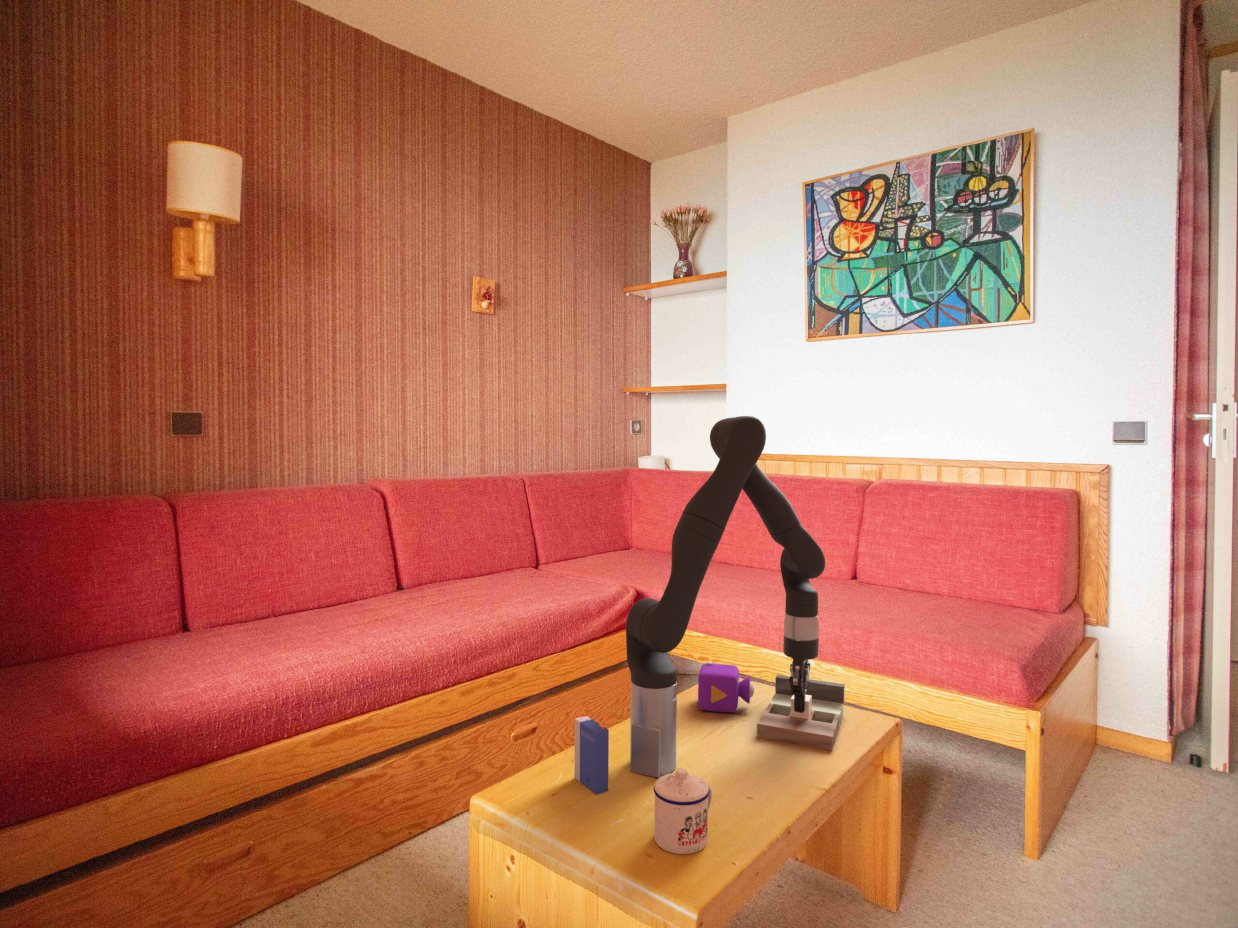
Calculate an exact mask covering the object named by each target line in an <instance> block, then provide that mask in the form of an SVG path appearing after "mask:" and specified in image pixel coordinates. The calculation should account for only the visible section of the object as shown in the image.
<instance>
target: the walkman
mask: <svg viewBox="0 0 1238 928" xmlns="http://www.w3.org/2000/svg"><path fill="white" fill-rule="evenodd" d="M574 721H575V722H574V779H575V780H577V781H578V782H579V783H581V784H582V785H583V786H584V787H586V788H587V789H588V790H589V791H591V792H592V793H594V795H600V794H602V793H605V792H607V791H608V792H609V753H610V752H609V748H610V747H609V745H610V743H609V740H610V736H609V735H610V733H609V731H610V729H608V728H607V727H606V725H604V724H602V723H599V722H598V721H596V720H594V719H592V718H591V717H589V716H588V715H585V716H581V717H575V718H574Z"/></svg>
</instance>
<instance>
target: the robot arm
mask: <svg viewBox="0 0 1238 928" xmlns="http://www.w3.org/2000/svg"><path fill="white" fill-rule="evenodd" d="M766 431H767V430H766V428H765V426H764V423H763V422H762V421H761V420H760V419H759V418H758V417H755V416H751V415H742V416H741V415H739V416H735V417H734V416H733V417H728V418H723V419H720V420H718V421H717V422H715V424H713V426H712V427H711V430H710V433H709V442H710V446H711V449H712V450H713V452H714V453H715V455H716V456H717V458H718V459H719V460H718V463H717V465H716V467H715V469H713V472H712V474H711V475H710V476H709V478H708V479H707V480H706V481H705V482H704V483H703V485H701V487H700V488H699V489H698V490H697V491H696V492H695V493H694V494H693V496H692V497H691V498H690V499H689V501H688V502H687V504H686V505H685V507H684V509H683V511H682V513H681V515H680V517H679V520H678V522H677V525H676V526H675V529H674V532H673V535H672V539H671V569H670V575H669V578H668V582H667V585H666V587H665V589H664V591H663V594H662V596H661V598H660V599H658V600H657V599H655V598H651V597H644V598H641V599H638V600H636V601H635V602H634V603H633V604H632V606H631V607H630V609H629V611H628V614H627V618H626V623H625V625H626V626H625V642H626V644H625V646H626V661H627V666H628V669H629V672H630V721H629V722H630V729H629V730H630V732H629V733H630V739H629V741H630V743H629V744H630V745H629V746H630V747H629V750H630V755H629V756H630V757H629V760H630V761H629V762H630V763H629V764H630V767H629V768H630V772H631V773H635V774H640V775H644V776H649V777H654V778H658V779H659V778H660V777H662V776H664V775H666V774H670V773H673V771H675V769H676V767H677V715H678V714H677V711H678V710H677V706H678V705H677V703H678V702H677V701H678V700H677V698H678V697H677V696H678V669H677V666H676V665H675V664H674V662H673V660H672V659H671V658H670V656H669V654H668V653H669V652H672V651H674V649H676V648H677V646H679V644H680V643H681V642H682V640H683V638H684V636H685V634H686V631H687V629H688V626H689V623H690V619H691V616H692V613H693V609H694V607H695V603H696V600H697V597H698V596H699V595H698V594H699V592H700V588H701V586H702V583H703V581H704V579H705V576H706V574H707V572H708V568H709V566H710V563H711V561H712V559H713V557H714V554H715V553H716V550H717V548H718V546H719V543H720V542H721V539H722V536H723V535H724V532H725V530H726V527H727V525H728V523H729V519H730V517H731V515H732V512H733V510H734V508H735V506H736V504H737V501H738V500H739V497H740V494H741V492H742V490H743V492H744V493H745V495H746V496H747V498H748V499H749V500H750V502H751V503H752V505H753V507H754V508H755V510H756V511H757V513H758V515H759V517H760V519H761V521H762V522H763V524H764V526H765V528H766V529H767V532H768V533H769V535H770V536H771V539H772V540H774V542H775V543H776V544H779V546H782V547H783V549H782V552H781V555H780V559H779V565H780V567H779V568H780V572H781V578H782V579H781V580H782V584H783V587H784V591H785V607H784V609H785V612H784V619H783V645H782V646H783V647H782V648H783V649H782V651H783V654H784V655H785V656H786V657H788V658H791V659H792V662H791V664H790V665H789V673H790V678H789V680H790V686H791V693H792V695H794V711H795V712H800V713H803V712H804V711H805V695H806V693H807V688H808V682H809V679H810V671H811V669H812V663H811V662H809V660H814V659H817V658H818V656H819V646H820V645H819V644H820V643H819V642H820V641H819V639H820V637H819V636H820V635H819V634H820V633H819V632H820V624H819V623H820V622H819V594H818V591H817V590H816V589H815V588H814V587H813V586H812V584H811V582H810V579H816V578H819V577H820V576H821V575H822V574H823V572H824V571H825V568H826V557H825V554H824V552H823V550H822V549H821V547H820V545H819V544H818V543H817V541H816V540H815V539H814V538H813V536H812V535H811V534H810V533H809V531H808V530H806V528H805V527H804V526H803V525H802V523H801V521H800V518H799V517H798V515H797V513H796V511H795V509H794V507H793V506H792V504H791V502H790V501H789V500H788V498H787V497H786V495H785V494H784V493H783V491H782V490H780V489H779V488H778V486H777V485H776V484H775V483H774V482H772V481H771V479H769V477H768V476H767V475H766V474H765V473H764V471H763V470H762V469H761V468H760V467H759V465H758V464H757V463H758V460H759V459H760V457H761V456H762V453H763V451H764V449H765V446H766V443H767V432H766Z"/></svg>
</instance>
